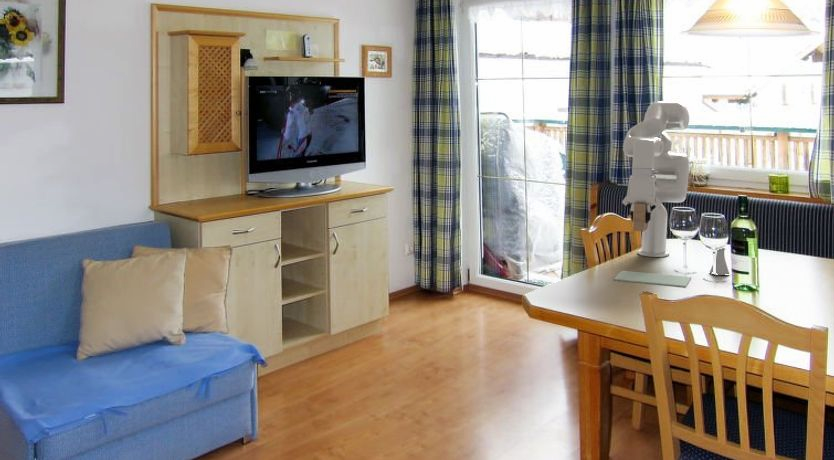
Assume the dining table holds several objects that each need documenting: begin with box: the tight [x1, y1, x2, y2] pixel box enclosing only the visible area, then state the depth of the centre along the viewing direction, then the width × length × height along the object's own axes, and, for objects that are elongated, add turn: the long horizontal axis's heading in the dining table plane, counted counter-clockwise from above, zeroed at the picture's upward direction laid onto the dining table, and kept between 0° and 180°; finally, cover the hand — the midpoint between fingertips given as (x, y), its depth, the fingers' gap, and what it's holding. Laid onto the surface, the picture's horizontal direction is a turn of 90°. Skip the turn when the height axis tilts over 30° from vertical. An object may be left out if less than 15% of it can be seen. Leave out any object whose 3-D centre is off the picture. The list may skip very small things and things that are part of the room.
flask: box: [709, 247, 730, 275], centre depth 282 cm, size 7×7×10 cm
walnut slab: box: [632, 203, 648, 232], centre depth 280 cm, size 8×4×10 cm, turn 153°
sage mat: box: [613, 270, 692, 288], centre depth 277 cm, size 13×25×1 cm, turn 63°
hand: (640, 221), depth 280 cm, fingers closed on walnut slab, 4 cm apart
